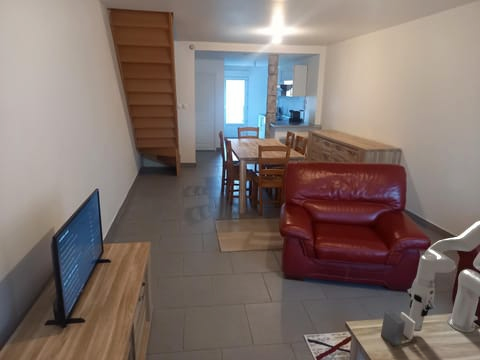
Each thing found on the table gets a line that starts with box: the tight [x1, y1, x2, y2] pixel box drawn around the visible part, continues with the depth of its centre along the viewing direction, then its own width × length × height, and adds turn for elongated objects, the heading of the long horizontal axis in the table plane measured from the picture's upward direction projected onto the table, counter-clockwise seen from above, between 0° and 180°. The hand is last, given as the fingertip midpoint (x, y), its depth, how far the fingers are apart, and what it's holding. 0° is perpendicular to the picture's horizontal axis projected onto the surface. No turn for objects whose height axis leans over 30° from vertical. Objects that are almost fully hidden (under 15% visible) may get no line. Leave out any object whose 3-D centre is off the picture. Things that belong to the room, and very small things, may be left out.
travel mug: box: [409, 294, 427, 332], centre depth 172 cm, size 6×7×20 cm
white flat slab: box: [399, 311, 416, 341], centre depth 172 cm, size 1×9×10 cm, turn 21°
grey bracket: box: [380, 310, 417, 349], centre depth 171 cm, size 14×9×14 cm, turn 111°
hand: (418, 311), depth 172 cm, fingers closed on travel mug, 6 cm apart
